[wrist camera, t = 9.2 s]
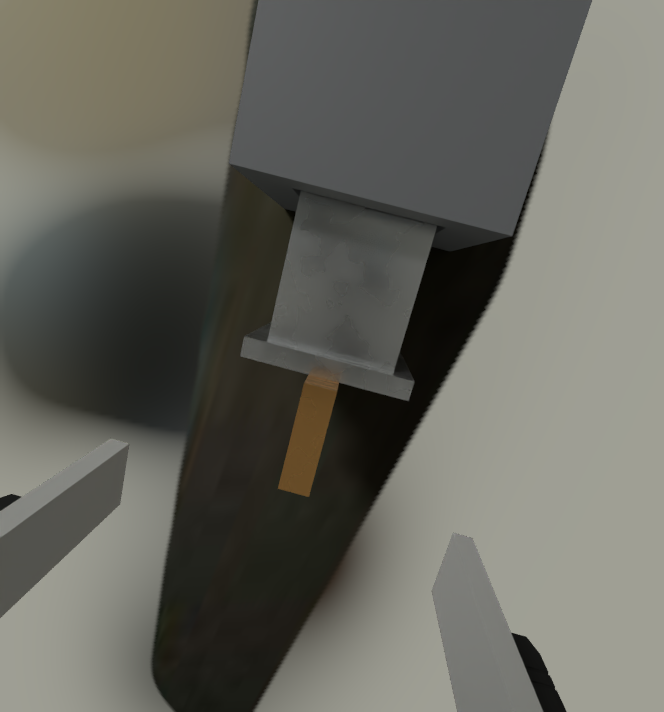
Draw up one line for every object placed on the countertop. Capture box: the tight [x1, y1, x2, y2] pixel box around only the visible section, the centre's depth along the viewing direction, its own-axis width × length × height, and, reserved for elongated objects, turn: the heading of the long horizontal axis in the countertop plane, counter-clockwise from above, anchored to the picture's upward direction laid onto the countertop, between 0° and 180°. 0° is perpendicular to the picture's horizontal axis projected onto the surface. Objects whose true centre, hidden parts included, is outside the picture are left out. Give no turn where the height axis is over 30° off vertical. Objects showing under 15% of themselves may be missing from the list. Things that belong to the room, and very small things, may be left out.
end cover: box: [240, 190, 437, 497], centre depth 26 cm, size 19×10×10 cm, turn 166°
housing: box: [229, 0, 592, 251], centre depth 25 cm, size 14×14×14 cm
